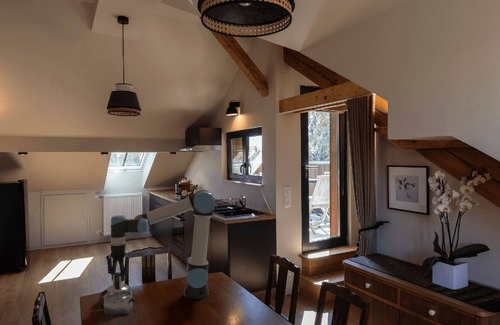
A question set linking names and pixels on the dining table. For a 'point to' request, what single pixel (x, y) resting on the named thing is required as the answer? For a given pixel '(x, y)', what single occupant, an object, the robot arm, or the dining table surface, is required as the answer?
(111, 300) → the pot
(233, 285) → the dining table surface
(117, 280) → the lid
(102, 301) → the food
